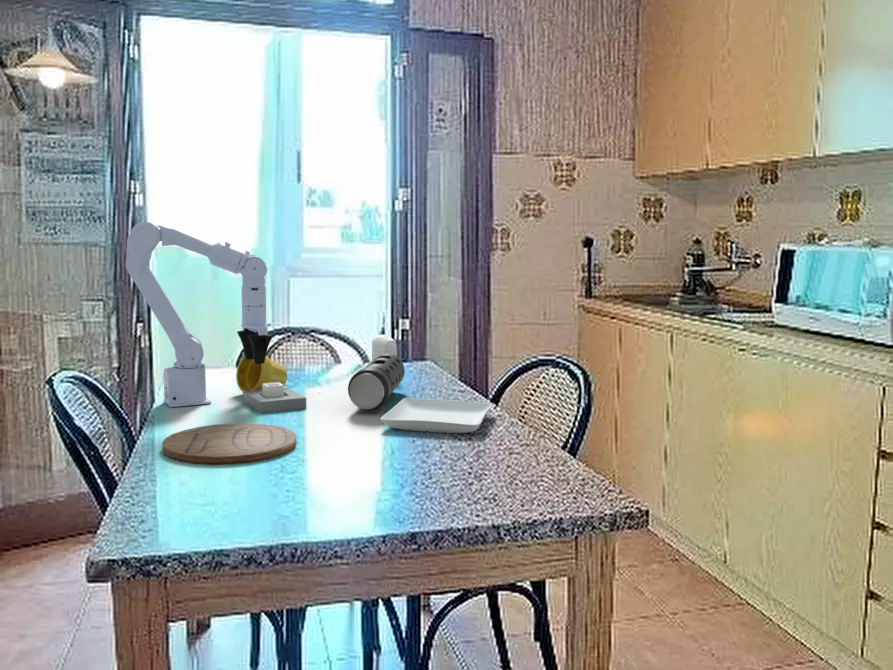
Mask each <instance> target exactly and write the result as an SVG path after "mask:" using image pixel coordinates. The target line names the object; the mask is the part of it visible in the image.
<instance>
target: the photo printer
mask: <svg viewBox="0 0 893 670" xmlns="http://www.w3.org/2000/svg"><path fill="white" fill-rule="evenodd" d="M371 341H372V342H371V362H372V361H373V360H374V359H375V358H376V357H378V356H380V355H382V354H392V355H395V356H396V357H398V355H397V354H398V345H397V343H396V341H395V340H394V338H393V337H391V336H389V335H387V334H378V335H375V336H374V337H373V338H372V340H371ZM381 365H383V364H381Z"/></svg>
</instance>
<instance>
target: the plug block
mask: <svg viewBox="0 0 893 670" xmlns="http://www.w3.org/2000/svg"><path fill="white" fill-rule="evenodd" d="M284 387H285V385H283V384H281V383H279V382H274V383H264V384H262V396H263V397H265V398H268V397H279V396H284Z"/></svg>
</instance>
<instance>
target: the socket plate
mask: <svg viewBox="0 0 893 670" xmlns="http://www.w3.org/2000/svg"><path fill="white" fill-rule="evenodd" d="M242 402H243V403H245V404H246V405H248V406H249V407H251V408H252V409H254V410H255V411H257V412H259V413H261V414H262V413H270V412H271V413H272V412H280V411H289V410H290V411H291V410H302V409H307V397H306V396H304V395H302V394H300V393H299V392H296V391H294V390H292V389H290V388H289V387H286V386H284V396H279V397H268V398H265V397H263V396H262V389H261V390H249V391H243V392H242Z"/></svg>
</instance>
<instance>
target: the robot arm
mask: <svg viewBox="0 0 893 670" xmlns="http://www.w3.org/2000/svg"><path fill="white" fill-rule="evenodd" d="M160 242H161V246H162V247H164V246H165V247H166V246H177V247H179V248H183V249H185V250H188V251H191V252H193V253H196V254H199V255H201V256H205V257H207V258H208V260H209V262H210V264H211V266H214V267H217V268H220V269H222V270H225V271H228V272H229V273H232V274H235V275H238V274H241V275H242V277H241V279H242V281H241V282H242V285H241V329H242V330H237V332H236V333H237V335H238V337H239V339H240V341H241V342H240V343H241V345H242V348H243V352H244V356H245V357H246V359H254V362H255V364H264V362H265V358H266V356H267V353H268V349H269V345H270V343H271V341H272V340H273V334H268V333H269V332H268V327H272V323H271V322H267V287H266V278H265V277H266V275H267V274H268V268H267V263H266V262H265V261H264V259H262V258H261V257H259V256H256V255H255V254H251V252H250V251H248V250H245V251H244V250H241V249H239V248H236V247H234V246H232V244H231V243H230V242H228V241H225V242H221V241H220V242H217V243H214V244H211V243H209V242H206V241H203V240H202V239H199V238H197V237H194V236H192V235H190V234H188V233H186V232H183V231H181V230H178V229H176V228H174V227H173V228H172V227H169V226H165V225H159V224H158V225H156V224H154V223H152V222H149V221H141V222H138V223H136V224H135V225H133V227H132V229H131V230H130V233H129V235H128V237H127V240H126V255H125V256H126V257H125V258H126V259H125V269H126V271H127V272H128V275H129V276H130V277H131V279H132V281H134V283H135V285H136V287H137V288H138V290H139V291H140V293H141V295H142V297H143V298H144V300H145V301H146V303H147V305H148V307H149V308H150V310H151V311H152V312H153V314H154V316H155V317H156V319H157V320H158V322H159V323H160V326H161V327H162V328H163V330H164V332H165V333H166V335H167V337H168V339H169V341H170V342H171V345H172V346H173V348H174V355H175V359H176V361H175V362H174V363H173V366H171V367H166V368H164V370H163V401H164V403H165V404H167V406H168V407H169V408H175V407H188V406H196V405H197V406H198V405H199V406H200V405H207V404H211V403H212V401H211V400H210V399H208V398H207V389H206V388H207V384H206V382H207V381H206V380H207V379H206V362H204V361H203V358H204V354H205V353H204V349H203V345H202V342H201V341H200V339H199V338H198V337H196V336H194V335H192V334H191V332H190V330H189V329H188V327H187V325H186V324H185V323H184V322H183V320H182V318H181V317H180V315H179V313H178V312H177V310H176V308H175V306H174V305H173V304H172V302H171V300H170V299H169V297H168V295H167V294H166V293H165V291H164V289H163V288H162V286H161V284H160V283H159V281H158V280H157V277H156V276H155V275H154V273H153V271H152V270H151V268H150V266H149V265H150V262H151V258H152V255H153V251H155V249H156V248H157V246H158V244H159V243H160Z"/></svg>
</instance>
